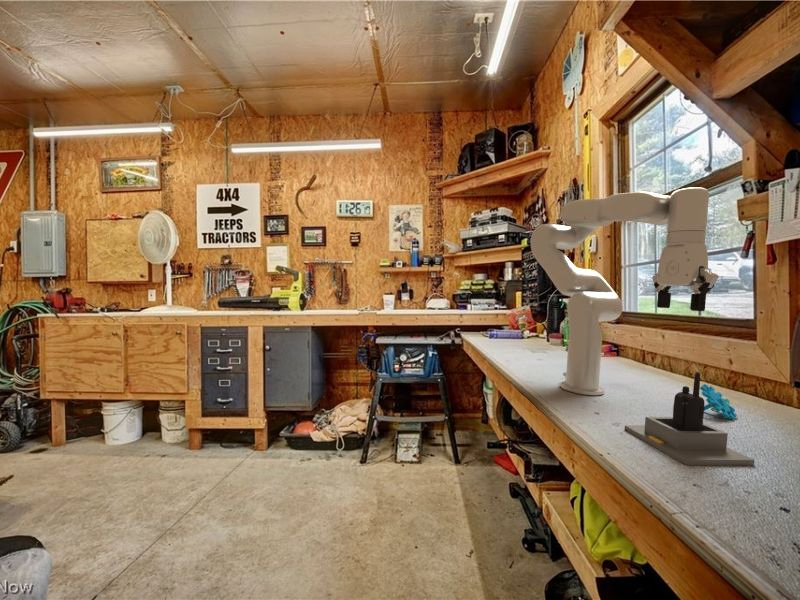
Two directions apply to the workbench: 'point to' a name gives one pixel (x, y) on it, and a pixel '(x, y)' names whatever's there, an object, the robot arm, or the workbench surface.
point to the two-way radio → (689, 408)
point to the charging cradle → (689, 443)
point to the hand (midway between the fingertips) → (679, 309)
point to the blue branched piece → (717, 402)
